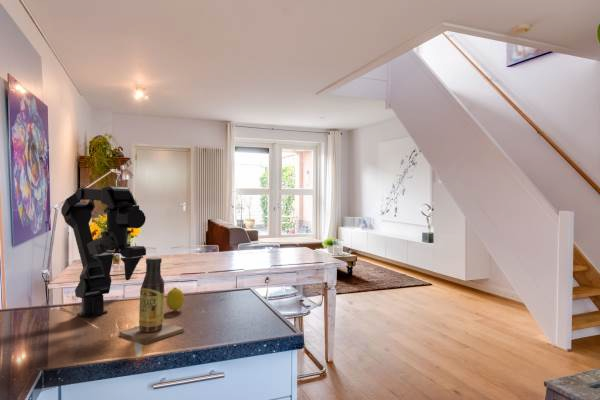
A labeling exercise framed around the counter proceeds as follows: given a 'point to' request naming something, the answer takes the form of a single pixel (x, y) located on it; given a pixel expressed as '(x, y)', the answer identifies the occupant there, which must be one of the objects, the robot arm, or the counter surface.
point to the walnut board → (151, 333)
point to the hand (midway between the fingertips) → (117, 278)
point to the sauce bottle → (152, 297)
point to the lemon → (175, 299)
